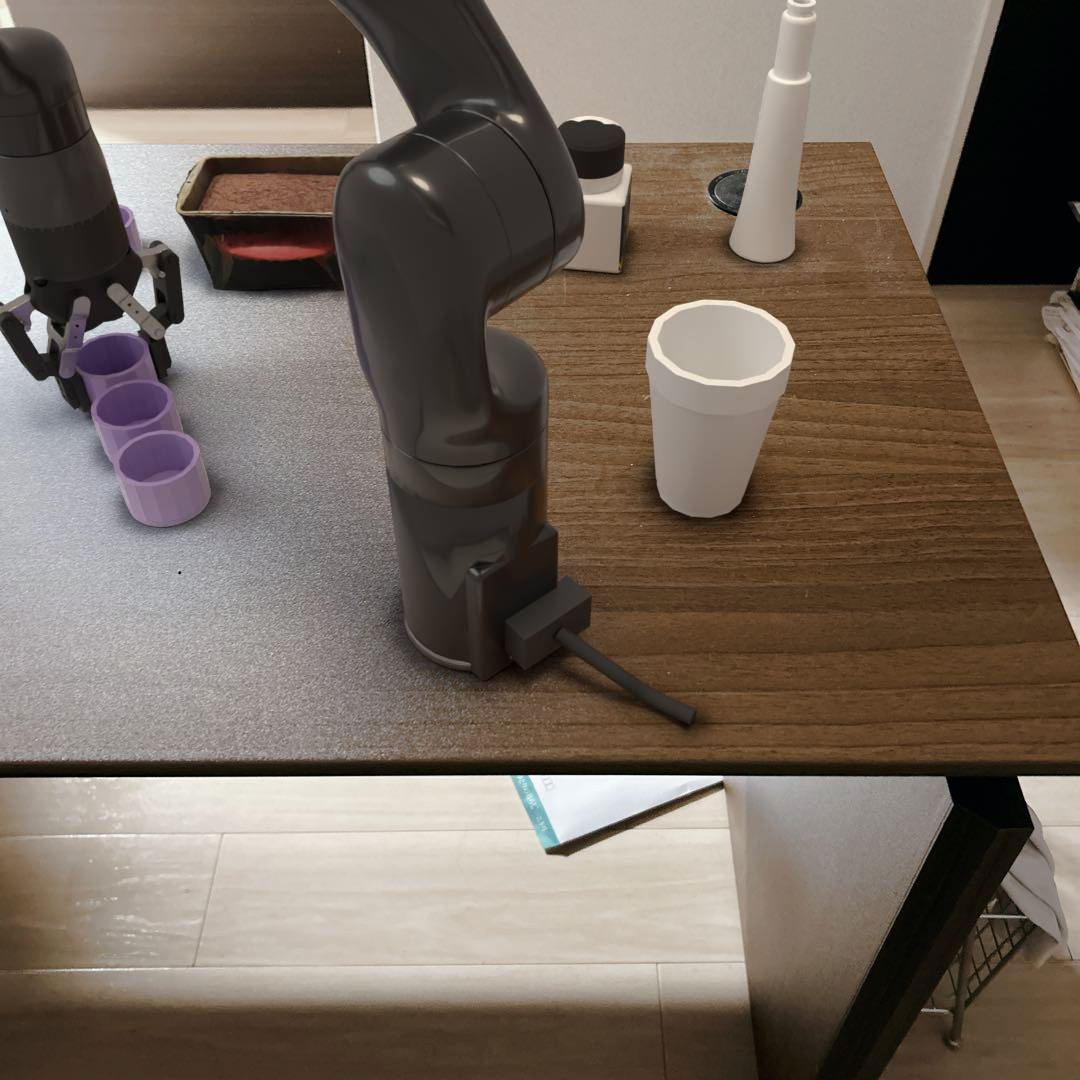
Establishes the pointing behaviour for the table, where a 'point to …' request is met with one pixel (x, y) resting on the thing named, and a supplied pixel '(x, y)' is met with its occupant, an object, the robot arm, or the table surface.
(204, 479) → the dish
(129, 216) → the dish far
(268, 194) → the baking dish
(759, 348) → the foam cup
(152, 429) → the dish
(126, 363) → the dish
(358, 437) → the table surface
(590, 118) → the medicine bottle
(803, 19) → the cosmetic bottle
